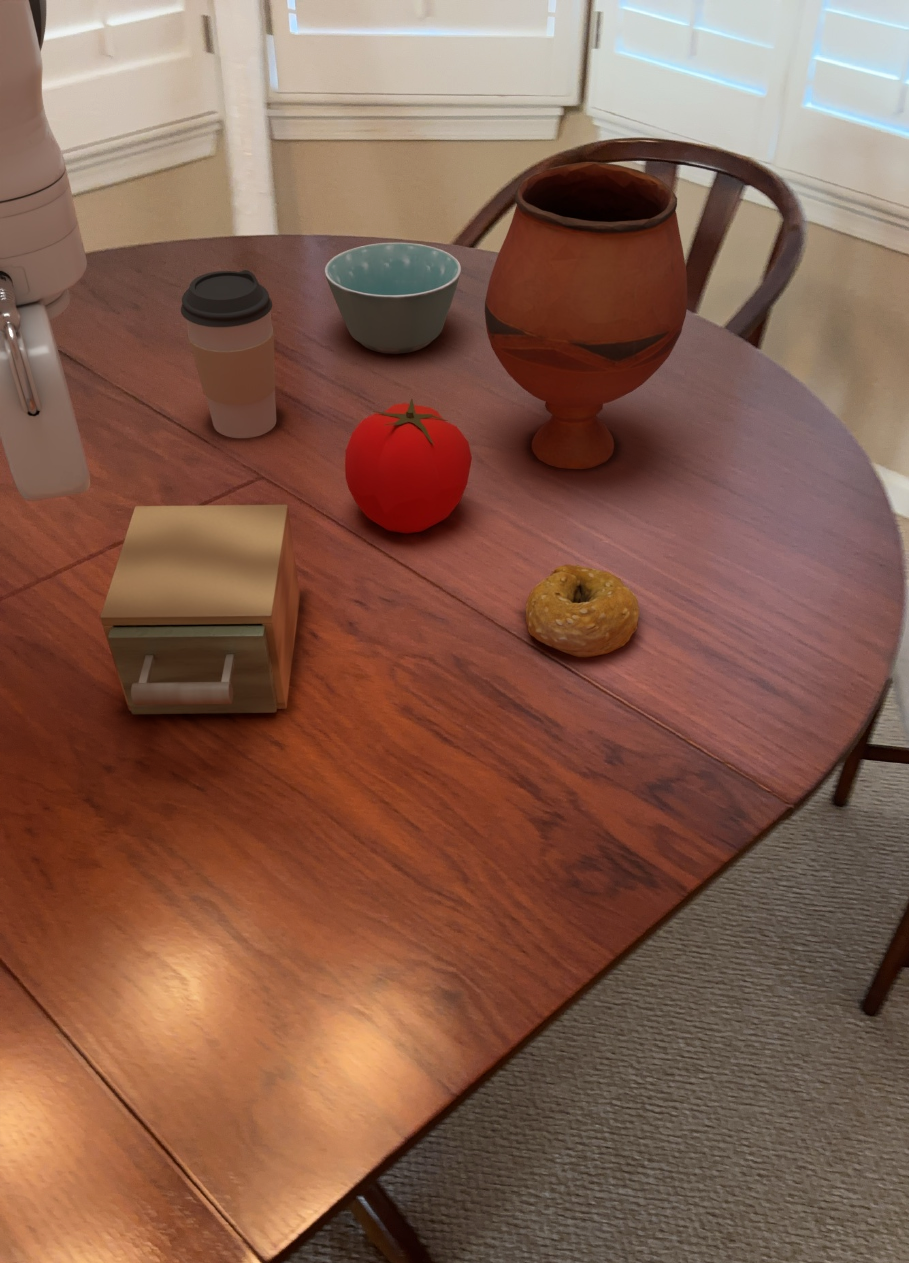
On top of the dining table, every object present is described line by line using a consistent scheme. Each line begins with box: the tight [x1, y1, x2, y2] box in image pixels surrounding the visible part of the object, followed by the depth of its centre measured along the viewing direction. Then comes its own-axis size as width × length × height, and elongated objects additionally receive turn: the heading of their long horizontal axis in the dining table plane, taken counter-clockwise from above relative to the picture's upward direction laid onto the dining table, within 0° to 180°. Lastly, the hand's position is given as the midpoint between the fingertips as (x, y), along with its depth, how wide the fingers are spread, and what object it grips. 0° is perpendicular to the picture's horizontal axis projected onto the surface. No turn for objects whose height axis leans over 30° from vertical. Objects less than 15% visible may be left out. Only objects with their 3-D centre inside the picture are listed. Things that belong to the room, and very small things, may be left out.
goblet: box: [484, 161, 688, 470], centre depth 103 cm, size 19×19×25 cm
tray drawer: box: [108, 624, 278, 715], centre depth 84 cm, size 18×11×8 cm, turn 1°
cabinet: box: [99, 504, 301, 712], centre depth 87 cm, size 15×13×10 cm
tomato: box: [344, 398, 473, 534], centre depth 100 cm, size 12×12×11 cm
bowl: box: [324, 242, 462, 355], centre depth 126 cm, size 16×16×8 cm
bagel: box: [525, 564, 640, 658], centre depth 91 cm, size 10×11×5 cm
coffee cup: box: [180, 269, 277, 439], centre depth 110 cm, size 9×9×15 cm
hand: (59, 483), depth 64 cm, fingers closed
